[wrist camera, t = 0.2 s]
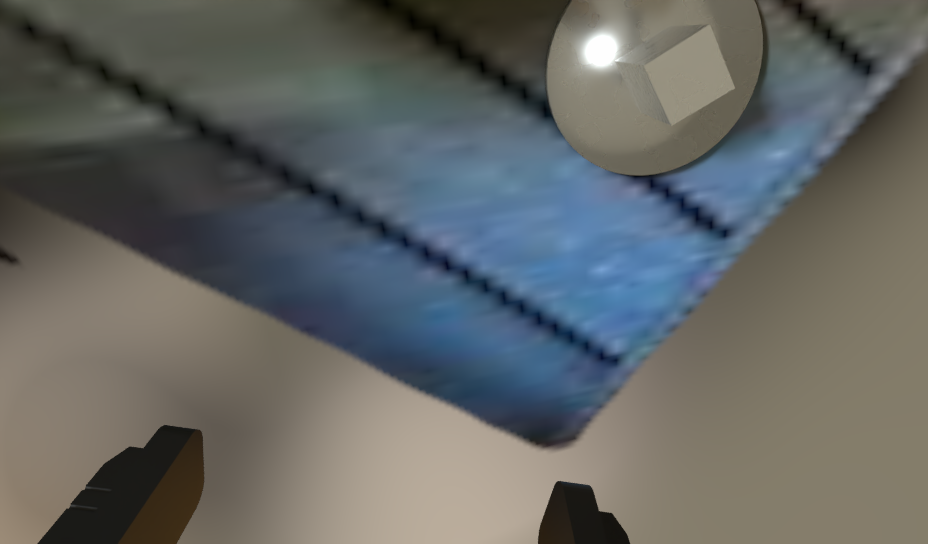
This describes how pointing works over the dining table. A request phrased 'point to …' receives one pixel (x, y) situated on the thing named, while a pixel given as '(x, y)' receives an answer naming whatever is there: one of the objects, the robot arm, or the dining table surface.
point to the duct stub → (651, 78)
